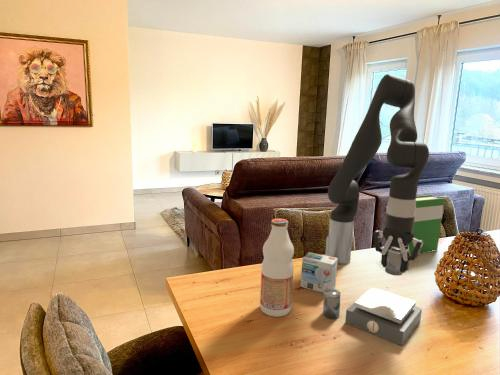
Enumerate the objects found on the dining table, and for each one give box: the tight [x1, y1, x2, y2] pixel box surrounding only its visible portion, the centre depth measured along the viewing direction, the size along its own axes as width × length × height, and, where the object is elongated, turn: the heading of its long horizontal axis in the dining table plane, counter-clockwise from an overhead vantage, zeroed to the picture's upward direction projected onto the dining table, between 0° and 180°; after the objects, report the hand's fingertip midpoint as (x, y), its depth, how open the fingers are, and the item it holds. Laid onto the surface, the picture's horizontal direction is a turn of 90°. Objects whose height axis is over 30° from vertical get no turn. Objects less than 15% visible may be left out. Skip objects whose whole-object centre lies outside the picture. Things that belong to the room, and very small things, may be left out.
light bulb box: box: [300, 251, 338, 294], centre depth 128 cm, size 11×7×11 cm, turn 62°
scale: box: [344, 303, 423, 346], centre depth 108 cm, size 16×16×4 cm
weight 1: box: [322, 288, 341, 319], centre depth 111 cm, size 5×5×7 cm
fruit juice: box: [259, 218, 295, 318], centre depth 110 cm, size 9×9×28 cm
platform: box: [353, 286, 417, 324], centre depth 107 cm, size 13×13×1 cm
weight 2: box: [384, 247, 404, 276], centre depth 108 cm, size 5×5×7 cm
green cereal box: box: [408, 194, 446, 255], centre depth 164 cm, size 18×7×24 cm, turn 114°
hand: (394, 268), depth 109 cm, fingers closed on weight 2, 4 cm apart
